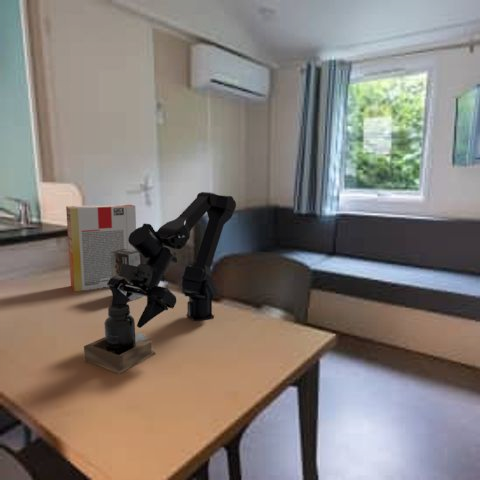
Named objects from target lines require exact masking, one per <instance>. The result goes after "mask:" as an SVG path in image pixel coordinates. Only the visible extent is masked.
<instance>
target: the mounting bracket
mask: <svg viewBox="0 0 480 480" xmlns="http://www.w3.org/2000/svg"><path fill="white" fill-rule="evenodd" d="M135 339H136V343H138V342H143V341H144V342H145V341H148V337H147V336H146V335H145V334H144V333H139V334H138V333H137V332H135Z"/></svg>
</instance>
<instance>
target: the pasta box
mask: <svg viewBox="0 0 480 480" xmlns="http://www.w3.org/2000/svg"><path fill="white" fill-rule="evenodd" d="M65 208H66V209H65V210H66V226H67V227H66V228H67V241H68V256H69V257H68V258H69V274H70V275H69V277H70V287H71V286H72V287H71V288H72V290H73V291H74V292H76V291H77V292H83V290H84V291H91V290H98V289H97V288H99V289H104V288H103V287H106V288H109V286H108V285H107V283H108V281H109V280H110V278H112V270H111V252H113V251H116V250H120V249H129V250H136V249H135V248H134V247H133V246H132V245H131V244H130V243H129V241H128V239H129V236H130V234H131V233H132V232H133V231H134V230H136V229H137V220H136V219H137V217H136V212H137V211H136V205H134V204H133V205H132V204H131V203H125V204H124V203H123V204H121V203H119V204H95V205H93V204H92V205H66V206H65ZM136 251H137V250H136ZM90 289H91V290H90Z"/></svg>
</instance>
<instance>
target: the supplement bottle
mask: <svg viewBox="0 0 480 480" xmlns="http://www.w3.org/2000/svg"><path fill="white" fill-rule="evenodd" d="M107 312H108V313H107V316H108V317H107V318H106V319H105V320H104V337H105V340H106V351H109V352H111V353H114V354H117V355H120V354H122V353H124V352H126V351H128V350H130V349H132V348H134V347H136V346H137V344H136V343H137V342H136V339H135V333H136V326H135V325H136V322H135V318H134V317H133V316H132V315H131V309H130V305H129V304H128V303H127V304H122V303H121V304H114V305H112V304H111V305H109V306H108V308H107Z"/></svg>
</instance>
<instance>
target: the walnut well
mask: <svg viewBox="0 0 480 480" xmlns="http://www.w3.org/2000/svg"><path fill="white" fill-rule="evenodd" d="M83 352H84V354H83V355H84V361H85V362H87V363H90V364H93V365H95V366H98V367H101V368H103V369H104V370H105V369H106V370H108V371H111V372H113V373H116V374H118V375H120V374H122V373H124V372H126V371H127V370H129V369H131V368H132V367H134V366H136V365H138V364H140V363H142V362H143V361H145V360H147V359H149V358H150V357H152V356H154V355H156V351H154V350H153V349H152V341H150V340H145V341H144V342H142V343H140V344H138V345H136V347H134V348H132V349H130V350H128V351H126V352H124V353H122V354H120V355H117V354H114V353H111V352H109V351H106V340H105V336H104V337H102V338H100V339H97V340H95V341H93V342H91V343H87V344H86V345H84V346H83Z"/></svg>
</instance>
